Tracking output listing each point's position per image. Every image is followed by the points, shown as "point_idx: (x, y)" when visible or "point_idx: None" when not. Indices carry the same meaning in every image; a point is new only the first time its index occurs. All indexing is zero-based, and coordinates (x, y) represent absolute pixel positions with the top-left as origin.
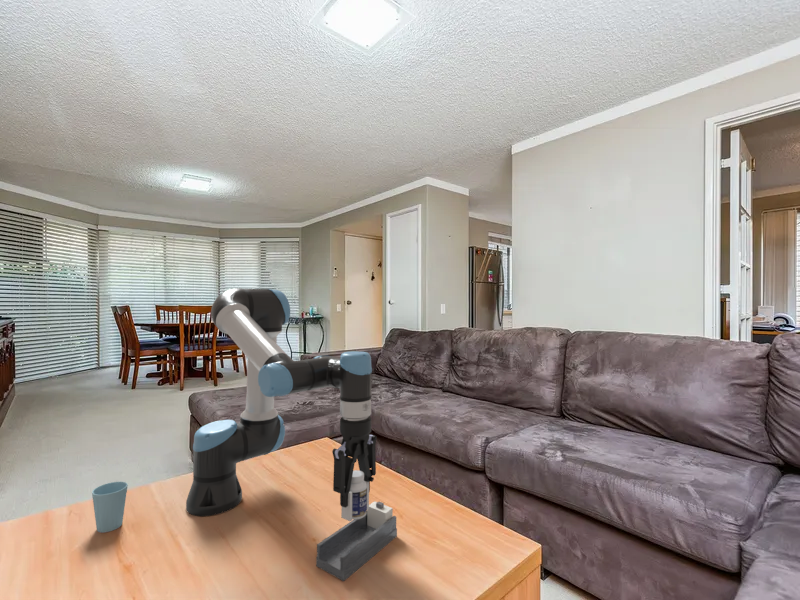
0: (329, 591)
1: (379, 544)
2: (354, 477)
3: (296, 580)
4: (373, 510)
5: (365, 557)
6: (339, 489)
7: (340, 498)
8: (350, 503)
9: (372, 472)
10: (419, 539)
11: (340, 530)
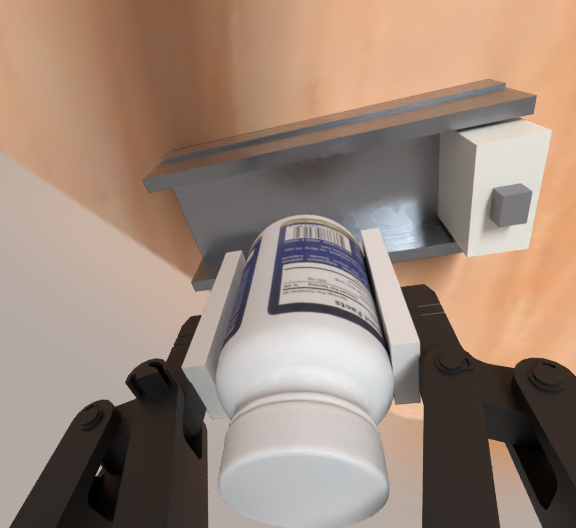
0: (168, 257)
1: None
2: (246, 515)
3: (97, 165)
4: (468, 185)
5: None
6: (99, 472)
7: (171, 354)
8: None
9: (510, 450)
10: (501, 267)
11: (268, 163)
